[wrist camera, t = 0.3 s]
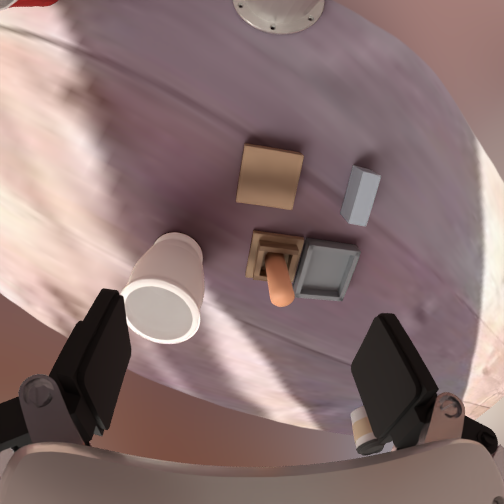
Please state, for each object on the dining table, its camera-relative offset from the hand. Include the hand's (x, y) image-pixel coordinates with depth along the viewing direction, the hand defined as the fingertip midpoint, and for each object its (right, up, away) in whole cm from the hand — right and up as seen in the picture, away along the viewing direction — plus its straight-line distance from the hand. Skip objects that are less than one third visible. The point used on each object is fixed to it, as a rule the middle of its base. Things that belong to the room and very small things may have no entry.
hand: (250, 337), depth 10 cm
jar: (-12, +3, +37) cm, 39 cm away
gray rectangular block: (+16, +12, +33) cm, 39 cm away
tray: (+12, 0, +39) cm, 41 cm away
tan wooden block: (+2, +14, +32) cm, 35 cm away
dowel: (+4, +2, +37) cm, 37 cm away
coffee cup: (+33, -46, +66) cm, 87 cm away
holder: (+4, +2, +38) cm, 38 cm away
